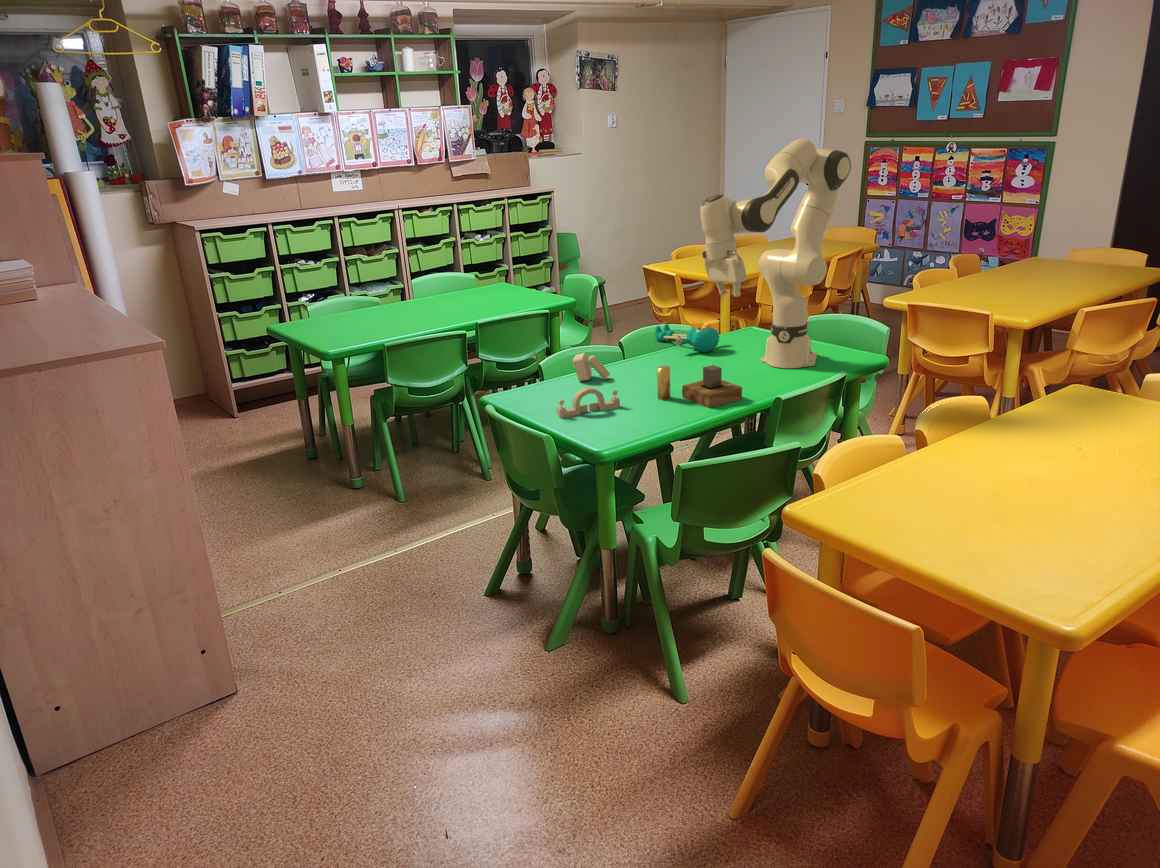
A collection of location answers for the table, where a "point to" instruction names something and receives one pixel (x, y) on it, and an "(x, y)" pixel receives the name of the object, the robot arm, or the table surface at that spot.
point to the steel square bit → (712, 377)
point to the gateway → (599, 405)
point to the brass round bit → (663, 382)
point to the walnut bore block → (712, 393)
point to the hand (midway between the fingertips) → (730, 295)
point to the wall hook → (588, 367)
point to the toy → (691, 337)
